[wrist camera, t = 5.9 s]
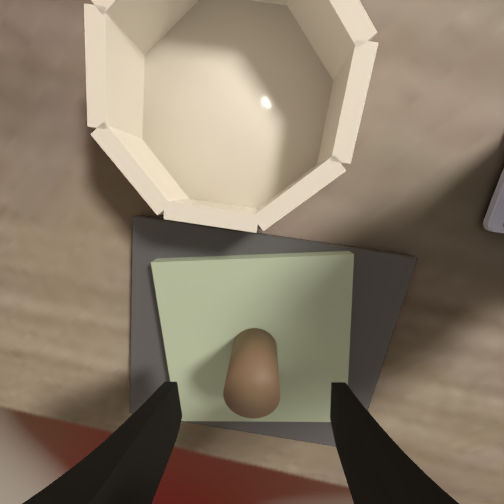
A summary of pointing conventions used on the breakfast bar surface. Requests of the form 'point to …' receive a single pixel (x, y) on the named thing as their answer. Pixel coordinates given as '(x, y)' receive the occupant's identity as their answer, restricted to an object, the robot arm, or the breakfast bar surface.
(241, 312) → the lid
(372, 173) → the breakfast bar surface
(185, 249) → the mat
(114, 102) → the bowl
